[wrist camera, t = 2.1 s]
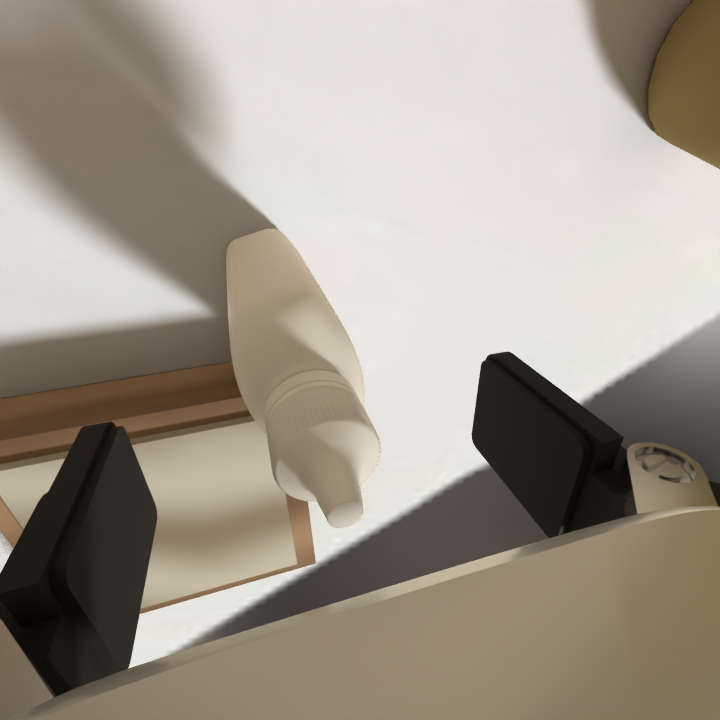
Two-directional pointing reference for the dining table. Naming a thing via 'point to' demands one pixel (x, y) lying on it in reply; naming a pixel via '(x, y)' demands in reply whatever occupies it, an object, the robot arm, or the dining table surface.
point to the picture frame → (168, 476)
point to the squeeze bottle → (689, 83)
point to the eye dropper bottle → (299, 376)
